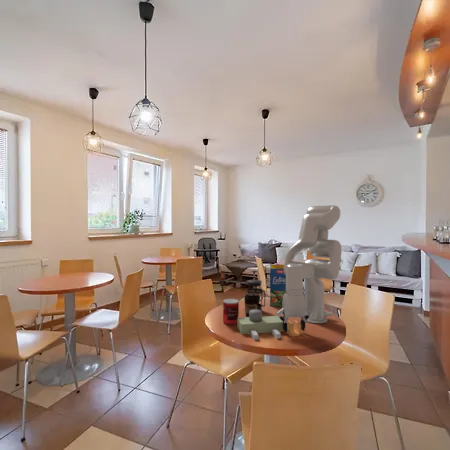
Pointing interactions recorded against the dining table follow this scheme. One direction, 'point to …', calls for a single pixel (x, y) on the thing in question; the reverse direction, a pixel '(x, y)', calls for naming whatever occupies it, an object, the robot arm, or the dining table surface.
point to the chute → (294, 328)
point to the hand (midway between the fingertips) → (293, 330)
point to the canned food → (230, 311)
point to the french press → (256, 289)
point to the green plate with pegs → (260, 324)
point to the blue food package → (277, 284)
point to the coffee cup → (251, 302)
